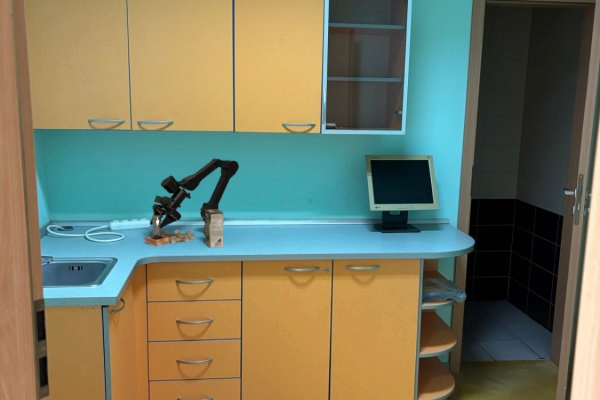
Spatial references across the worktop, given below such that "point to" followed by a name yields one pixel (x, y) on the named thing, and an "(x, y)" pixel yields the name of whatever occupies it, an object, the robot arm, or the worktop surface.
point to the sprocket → (171, 238)
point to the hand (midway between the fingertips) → (155, 226)
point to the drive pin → (157, 227)
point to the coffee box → (214, 228)
